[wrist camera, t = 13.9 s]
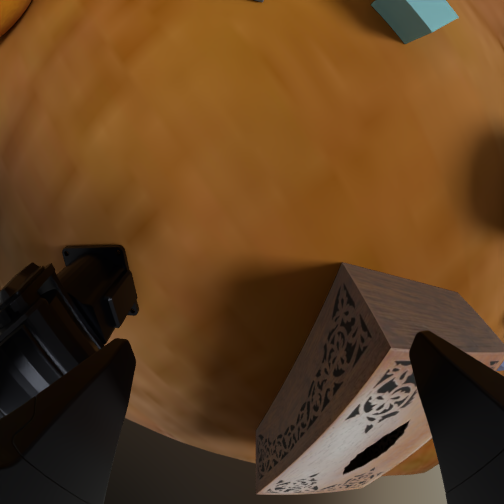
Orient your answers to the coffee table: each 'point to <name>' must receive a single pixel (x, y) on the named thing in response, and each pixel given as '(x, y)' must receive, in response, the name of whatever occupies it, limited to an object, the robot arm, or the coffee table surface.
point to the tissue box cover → (361, 384)
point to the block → (414, 16)
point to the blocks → (501, 367)
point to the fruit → (11, 13)
